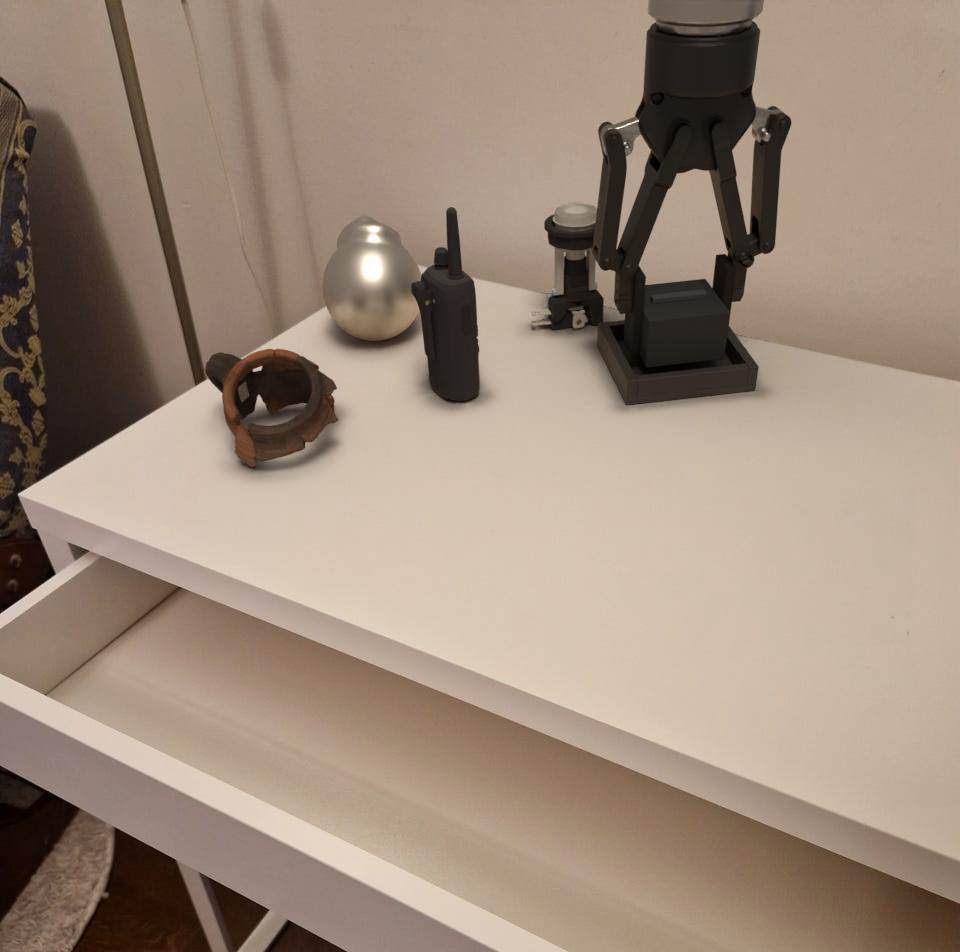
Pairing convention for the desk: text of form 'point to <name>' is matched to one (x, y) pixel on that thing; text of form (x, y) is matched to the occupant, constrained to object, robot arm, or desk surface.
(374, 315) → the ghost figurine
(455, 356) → the two-way radio
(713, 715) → the desk surface
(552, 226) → the push button
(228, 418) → the pottery mug
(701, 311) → the top pad
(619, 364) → the base pad
